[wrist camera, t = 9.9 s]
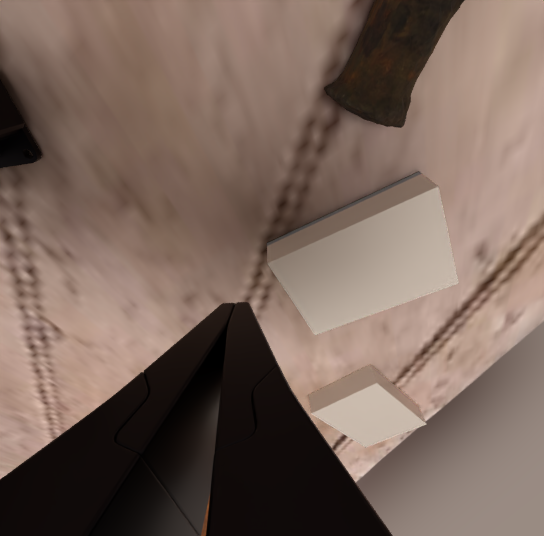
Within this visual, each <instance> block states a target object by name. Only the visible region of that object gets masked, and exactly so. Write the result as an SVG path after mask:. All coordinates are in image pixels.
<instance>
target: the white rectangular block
mask: <svg viewBox="0 0 544 536" xmlns="http://www.w3.org/2000/svg"><path fill="white" fill-rule="evenodd" d="M308 396H309V403H310V411H311V414H312V415H314V416H315V417H317V418H319V419H320V420H322V421H323V422H325V423H327V424H328V425H330V426H332V427H333V428H335V429H336V430H338V431H340V432H341V433H343V434H344V435H346V436H348V437H349V438H351V439H353V440H354V441H356V442H357V443H359V444H361V445H362V446H364V447H368V446H371V445H374V444H376V443H379V442H381V441H384V440H387V439H389V438H392V437H395V436H397V435H400V434H402V433H405V432H408V431H410V430H413V429H416V428H418V427H421V426H423V425H426V421H425V419H424V417H423V415H422V412H421V410H420V408H419V406H418V405H417V404H416V403H415V402H413V401H412V400H411V399H410V398H409V397H408V396H407V395H405V394H404V393H403V392H402V391H401V390H400V389H398V388H397V387H396V386H395V385H394V384H393V383H392V382H390V381H389V380H388V379H387V378H386V377H385V376H383V375H382V374H381V373H380V372H379V371H378V370H377V369H375V368H374V367H373V366H372V365H371V364H369V365H367V366H365V367H363V368H361V369H359V370H357V371H355V372H353V373H351V374H349V375H347V376H345V377H343V378H341V379H339V380H337V381H335V382H333V383H331V384H329V385H327V386H325V387H323V388H321V389H319V390H317V391H315V392H313V393H311V394H309V395H308Z"/></svg>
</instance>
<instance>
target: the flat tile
mask: <svg viewBox="0 0 544 536" xmlns="http://www.w3.org/2000/svg"><path fill="white" fill-rule="evenodd" d="M267 264H268V265H269V267H270V268H271V270H272V271H273V273H274V274H275V276H276V277H277V279H278V280H279V282H280V283H281V285H282V286H283V288H284V290H285V291H286V293H287V294H288V296H289V297H290V299H291V300H292V302H293V303H294V305H295V306H296V308H297V309H298V311H299V312H300V314H301V315H302V317H303V318H304V320H305V321H306V323H307V324H308V326H309V327H310V329H311V330H312V332H313V333H314V335H318V334H321V333H323V332H326V331H329V330H332V329H334V328H337V327H340V326H343V325H345V324H348V323H351V322H354V321H356V320H359V319H362V318H365V317H367V316H370V315H373V314H376V313H378V312H381V311H384V310H387V309H389V308H392V307H395V306H398V305H400V304H403V303H406V302H409V301H411V300H414V299H417V298H420V297H422V296H425V295H428V294H431V293H433V292H436V291H439V290H442V289H444V288H447V287H450V286H453V285H455V284H458V283H459V282H458V277H457V273H456V268H455V263H454V258H453V253H452V249H451V244H450V239H449V234H448V229H447V224H446V220H445V215H444V210H443V205H442V200H441V196H440V191H439V186H438V185H436V184H435V183H434V182H432V181H431V180H430V179H428V178H427V177H426V176H424V175H423V174H422V173H420V172H417V173H415V174H413V175H411V176H409V177H406V178H404V179H402V180H400V181H398V182H396V183H394V184H392V185H389V186H387V187H385V188H383V189H381V190H379V191H377V192H375V193H372V194H370V195H368V196H366V197H364V198H362V199H360V200H358V201H355V202H353V203H351V204H349V205H347V206H345V207H343V208H341V209H338V210H336V211H334V212H332V213H330V214H328V215H326V216H324V217H321V218H319V219H317V220H315V221H313V222H311V223H309V224H307V225H304V226H302V227H300V228H298V229H296V230H294V231H292V232H290V233H288V234H285V235H283V236H281V237H279V238H277V239H275V240H273V241H271V242H268V243H267Z"/></svg>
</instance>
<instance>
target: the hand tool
mask: <svg viewBox="0 0 544 536" xmlns="http://www.w3.org/2000/svg"><path fill="white" fill-rule="evenodd" d="M463 2H464V0H375V3H374V5H373V7H372V9H371V11H370V13H369V17H368V21H367V23H366V25H365V27H364V30H363V32H362V34H361V36H360V38H359V40H358V43H357V45H356V48H355V50H354V52H353V53H352V55H351V57H350V59H349V61H348V64H347V66H346V68H345V70H344V71H343V73H342V74H341V75H340V77H339V78H338V79H337V80H336V81H335V82H333V83H332V84H330V85H328V86H326V87H325V88H324V89H325V91H326V93H327V95H330V96H331V97H332V98H333V99H334V100H335V101H336V102H338V103H339V104H340V105H342V106H343V107H344V108H345V109H346V110H348V111H350V112H352V113H354V114H356V115H358V116H360V117H361V118H363V119H365V120H369V121H372V122H374V123H376V124H381V125H384V126H387V127H388V126H393V127H400V128H401V127H402V126H403V125H404V124H405V119H406V115H407V111H408V108H409V105H410V102H411V93H412V90H413V87H414V85H415V82H416V80H417V79H418V77H419V75H420V73H421V71H422V70H423V68H424V66H425V64H426V62H427V61H428V59H429V57H430V55H431V54H432V53H433V51H434V48H435V46H436V44H437V42H438V40H439V39H440V37H441V35H442V33H443V31H444V30H445V28H446V26H447V24H448V23H449V21H450V19H451V18H452V17H453V15H454V14H455V13H456V12H457V10H458V9H459V8H460V5H461V4H462V3H463Z"/></svg>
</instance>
